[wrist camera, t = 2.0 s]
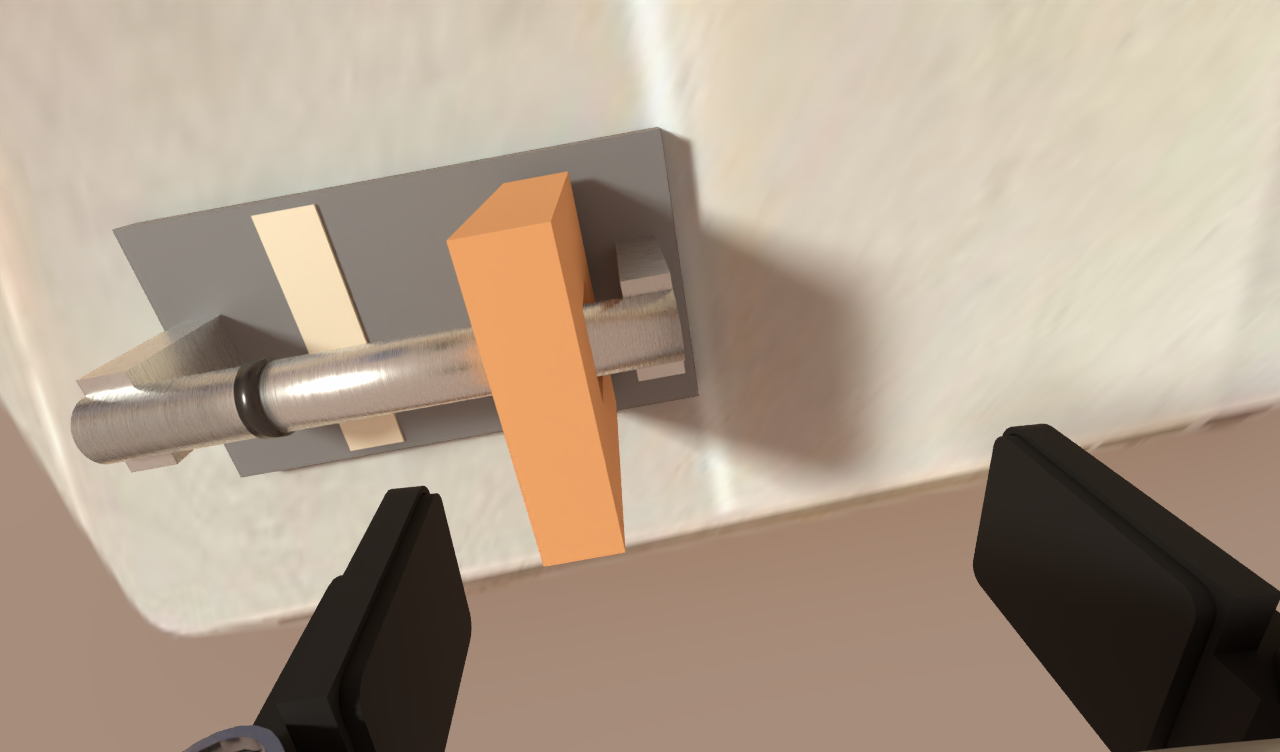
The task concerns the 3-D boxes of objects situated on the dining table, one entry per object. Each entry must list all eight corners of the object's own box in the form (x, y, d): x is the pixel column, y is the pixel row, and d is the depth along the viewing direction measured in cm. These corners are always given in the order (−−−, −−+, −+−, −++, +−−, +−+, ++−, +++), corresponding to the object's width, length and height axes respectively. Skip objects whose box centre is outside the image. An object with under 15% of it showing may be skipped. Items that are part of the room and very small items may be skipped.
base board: (657, 127, 30) (660, 129, 29) (695, 384, 36) (699, 396, 35) (133, 223, 31) (109, 230, 29) (254, 463, 37) (239, 479, 35)
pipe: (654, 235, 31) (674, 284, 23) (668, 318, 33) (690, 389, 25) (181, 321, 31) (42, 398, 24) (220, 399, 33) (104, 494, 25)
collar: (568, 171, 29) (550, 221, 18) (616, 402, 34) (625, 552, 23) (503, 183, 29) (446, 240, 18) (560, 412, 34) (543, 566, 23)
